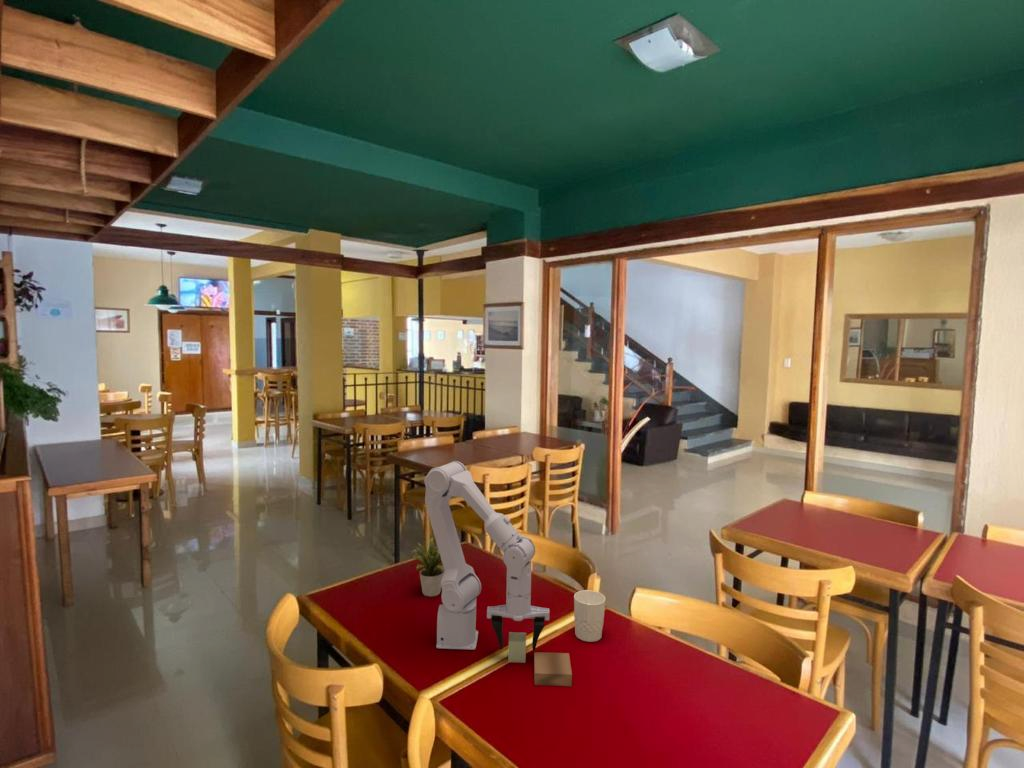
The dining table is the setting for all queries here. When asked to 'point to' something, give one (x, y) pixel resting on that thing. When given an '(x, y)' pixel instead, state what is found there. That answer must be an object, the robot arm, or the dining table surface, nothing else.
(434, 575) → the house plant
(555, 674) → the walnut base
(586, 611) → the white cup
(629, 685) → the dining table surface
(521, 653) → the green block
